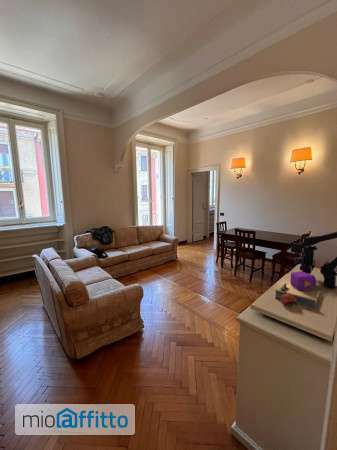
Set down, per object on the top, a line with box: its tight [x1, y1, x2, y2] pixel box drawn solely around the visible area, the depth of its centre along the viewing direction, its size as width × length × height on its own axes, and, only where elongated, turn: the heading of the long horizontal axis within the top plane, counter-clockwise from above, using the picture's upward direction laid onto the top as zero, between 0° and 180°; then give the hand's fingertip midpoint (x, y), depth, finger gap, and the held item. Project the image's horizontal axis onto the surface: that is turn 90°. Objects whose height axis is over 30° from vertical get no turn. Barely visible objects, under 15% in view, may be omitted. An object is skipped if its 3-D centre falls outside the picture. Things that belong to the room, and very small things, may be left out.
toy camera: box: [289, 270, 317, 291], centre depth 132 cm, size 11×14×10 cm
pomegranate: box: [280, 291, 297, 310], centre depth 111 cm, size 7×7×10 cm
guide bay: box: [275, 282, 321, 311], centre depth 120 cm, size 20×19×5 cm
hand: (307, 276), depth 140 cm, fingers open, 8 cm apart
